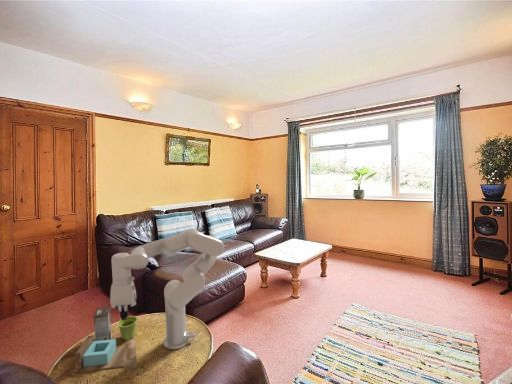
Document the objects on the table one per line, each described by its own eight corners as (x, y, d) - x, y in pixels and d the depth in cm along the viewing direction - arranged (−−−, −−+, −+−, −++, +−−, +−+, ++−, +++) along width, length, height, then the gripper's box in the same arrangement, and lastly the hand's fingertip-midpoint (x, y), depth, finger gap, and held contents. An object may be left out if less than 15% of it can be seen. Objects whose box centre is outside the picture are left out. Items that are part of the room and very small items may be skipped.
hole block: (116, 348, 125) (115, 339, 125) (107, 364, 115) (107, 353, 115) (94, 351, 124) (93, 341, 123) (83, 366, 114) (82, 356, 113)
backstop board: (135, 345, 128) (134, 330, 128) (125, 366, 115) (124, 349, 114) (89, 350, 125) (88, 334, 124) (73, 372, 111) (72, 355, 111)
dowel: (137, 363, 116) (136, 338, 115) (135, 370, 112) (133, 344, 111) (128, 364, 116) (127, 339, 115) (125, 371, 112) (124, 345, 111)
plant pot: (139, 338, 134) (139, 322, 133) (119, 345, 129) (118, 328, 128) (136, 329, 142) (135, 314, 141) (117, 335, 136) (116, 319, 136)
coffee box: (98, 337, 135) (96, 307, 134) (112, 334, 138) (110, 305, 136) (95, 348, 127) (93, 317, 125) (110, 344, 129) (108, 314, 128)
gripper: (141, 275, 123) (143, 312, 124) (108, 278, 120) (110, 315, 122) (136, 282, 115) (139, 321, 117) (101, 285, 113) (103, 324, 115)
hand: (124, 318), depth 119 cm, fingers closed
